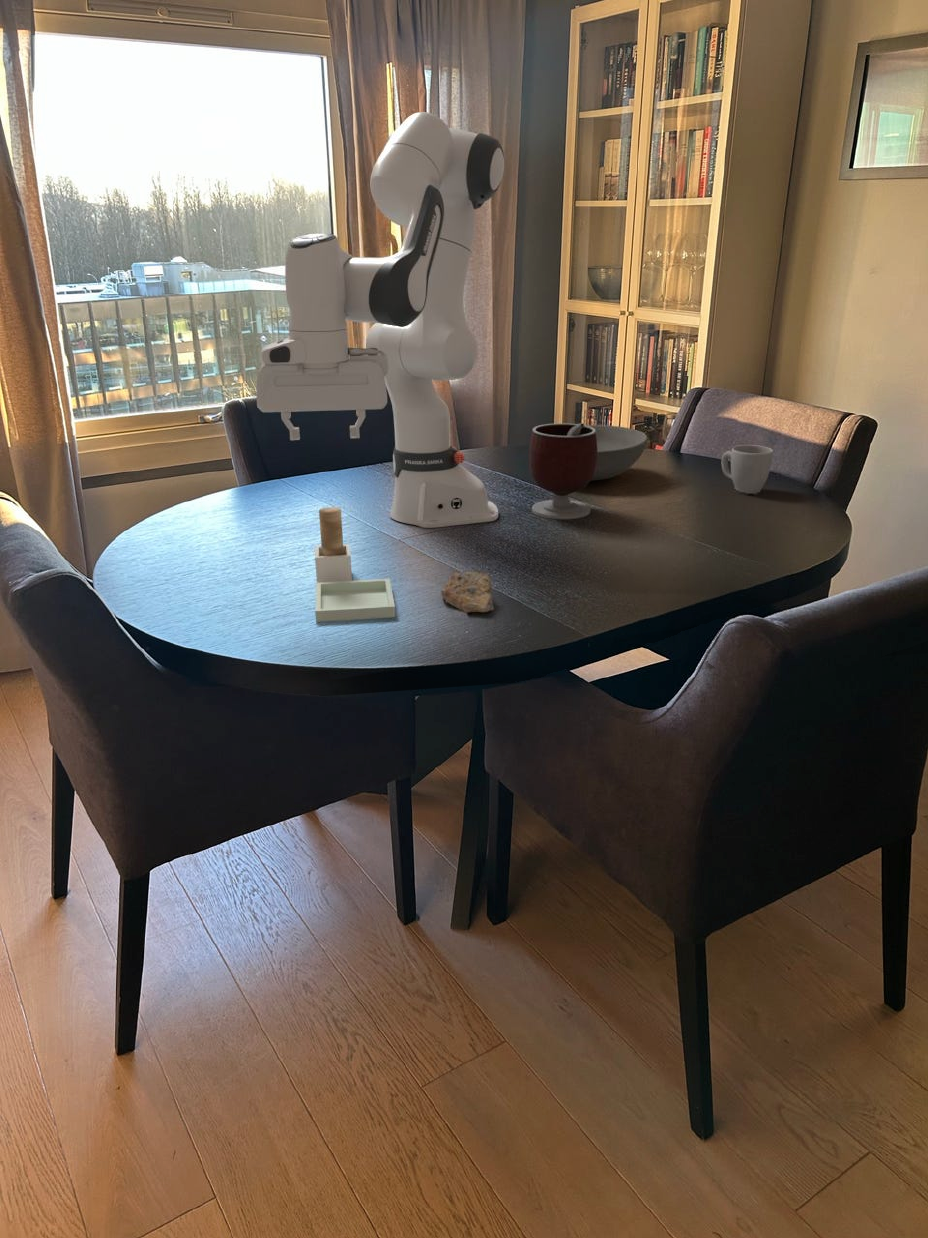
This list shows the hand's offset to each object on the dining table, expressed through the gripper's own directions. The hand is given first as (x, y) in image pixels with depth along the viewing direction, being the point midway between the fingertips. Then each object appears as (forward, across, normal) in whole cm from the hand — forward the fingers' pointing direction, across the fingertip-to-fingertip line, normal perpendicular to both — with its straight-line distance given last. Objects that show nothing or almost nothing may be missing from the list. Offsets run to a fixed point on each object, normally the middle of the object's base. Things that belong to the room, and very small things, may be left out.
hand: (325, 438), depth 146 cm
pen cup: (+24, 0, 0) cm, 24 cm away
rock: (+25, -21, +13) cm, 35 cm away
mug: (+24, -92, -44) cm, 105 cm away
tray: (+24, -3, +12) cm, 27 cm away
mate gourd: (+24, -48, -34) cm, 64 cm away
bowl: (+24, -61, -61) cm, 90 cm away
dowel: (+24, 0, 0) cm, 24 cm away
